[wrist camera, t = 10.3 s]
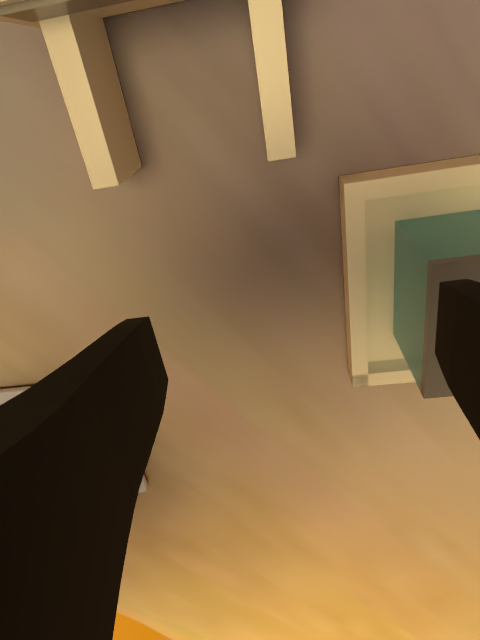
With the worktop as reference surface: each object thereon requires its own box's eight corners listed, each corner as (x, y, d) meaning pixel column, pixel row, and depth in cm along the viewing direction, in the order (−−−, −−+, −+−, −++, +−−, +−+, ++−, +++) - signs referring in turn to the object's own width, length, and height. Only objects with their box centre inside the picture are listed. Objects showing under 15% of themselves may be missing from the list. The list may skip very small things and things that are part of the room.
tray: (512, 354, 23) (527, 371, 22) (348, 370, 24) (352, 387, 23) (550, 144, 18) (572, 149, 17) (338, 176, 19) (344, 184, 18)
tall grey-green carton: (475, 325, 22) (527, 389, 17) (393, 334, 22) (423, 398, 18) (489, 207, 19) (556, 249, 15) (395, 221, 19) (431, 265, 15)
